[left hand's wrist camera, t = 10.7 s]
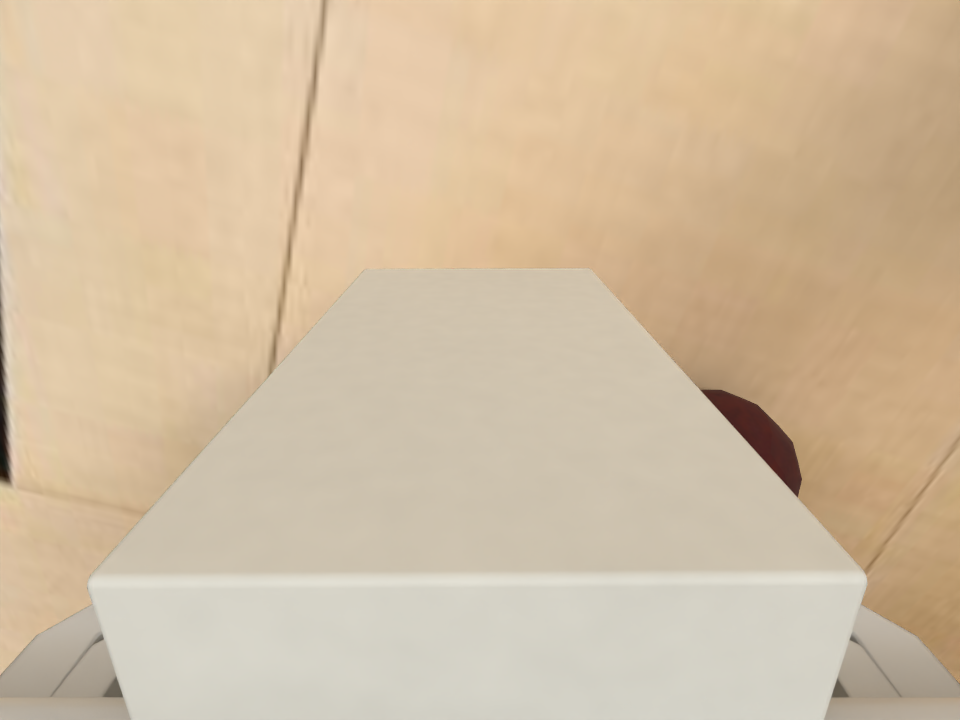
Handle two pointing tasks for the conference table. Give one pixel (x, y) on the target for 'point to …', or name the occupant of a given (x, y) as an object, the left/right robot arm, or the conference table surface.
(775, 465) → the dark red ball
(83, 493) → the conference table surface
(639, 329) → the box
